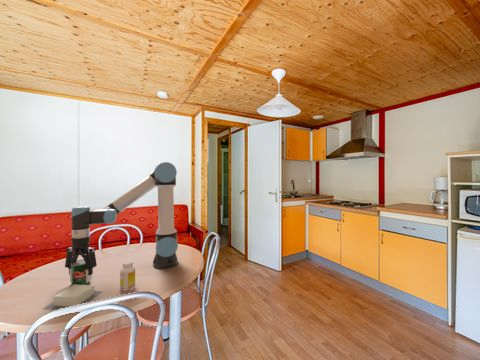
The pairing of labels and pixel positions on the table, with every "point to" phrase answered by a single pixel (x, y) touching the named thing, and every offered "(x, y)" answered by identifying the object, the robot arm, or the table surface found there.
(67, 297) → the cream base block
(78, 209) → the robot arm
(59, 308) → the grey flat square
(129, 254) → the table surface
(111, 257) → the table surface
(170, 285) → the table surface
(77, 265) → the canned tomato
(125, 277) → the supplement bottle
